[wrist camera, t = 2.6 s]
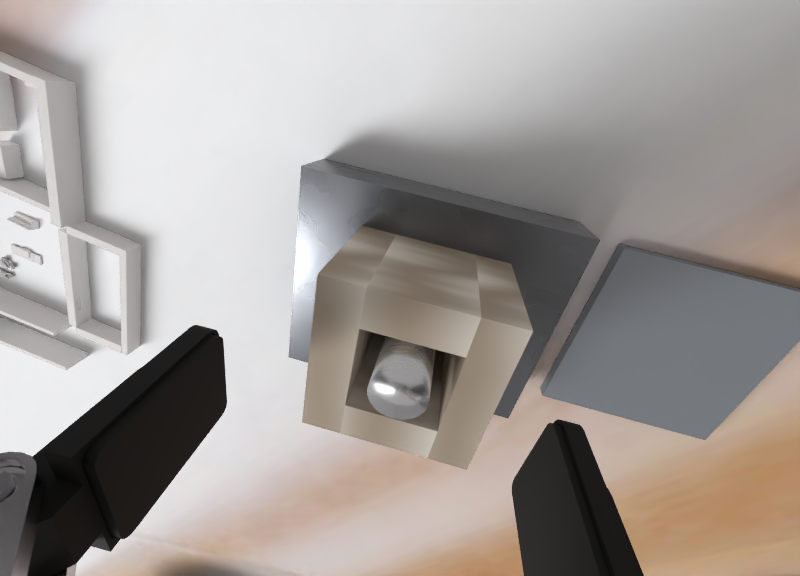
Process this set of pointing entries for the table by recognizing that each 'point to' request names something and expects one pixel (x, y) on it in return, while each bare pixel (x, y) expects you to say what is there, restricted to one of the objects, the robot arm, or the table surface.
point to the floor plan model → (67, 210)
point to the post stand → (445, 226)
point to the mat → (673, 342)
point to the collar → (414, 340)
